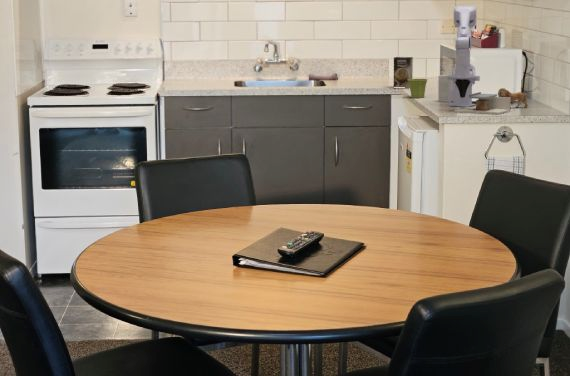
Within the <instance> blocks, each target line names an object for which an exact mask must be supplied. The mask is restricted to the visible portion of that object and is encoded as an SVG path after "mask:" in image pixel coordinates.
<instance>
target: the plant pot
mask: <svg viewBox="0 0 570 376" xmlns="http://www.w3.org/2000/svg"><path fill="white" fill-rule="evenodd" d="M408 81H409V84H410V96H411V98H413V99H416V98H417V99H422V98H425V93H426V87H427V83H428V78H412V79H408Z"/></svg>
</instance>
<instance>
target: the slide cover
mask: <svg viewBox="0 0 570 376" xmlns="http://www.w3.org/2000/svg"><path fill="white" fill-rule="evenodd" d="M492 97H498V93H496V94H495V93H482V92H481V91H480V92H475V93H472V94H470V95H469V98H472V99H476V100H478V99H489V98H492Z"/></svg>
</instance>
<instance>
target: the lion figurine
mask: <svg viewBox="0 0 570 376" xmlns="http://www.w3.org/2000/svg"><path fill="white" fill-rule="evenodd" d="M497 97H510V98H511V102H512V103H513V102H517V105H516V106H515V108H519V107H520V106H521V104H522V103H523V104H524V106H523V108H524V109H527V108H528V107H529V105H528V102H527V97H526V95H525V93H523V92H520V91H518V92H514V93H512V92H510V91H509V90H507V89H506V88H505V87H501V88H499V89H498V91H497Z"/></svg>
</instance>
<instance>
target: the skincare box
mask: <svg viewBox="0 0 570 376" xmlns="http://www.w3.org/2000/svg"><path fill="white" fill-rule="evenodd" d="M446 75H447V74H440V75H438V79H437V80H438V82H437V83H438V85H437V87H438V92H437V94H438V98H437V99H438V102H442V103H449V92H450V88H451V86H455V85H454V84H453V82H452V80H446Z"/></svg>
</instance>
